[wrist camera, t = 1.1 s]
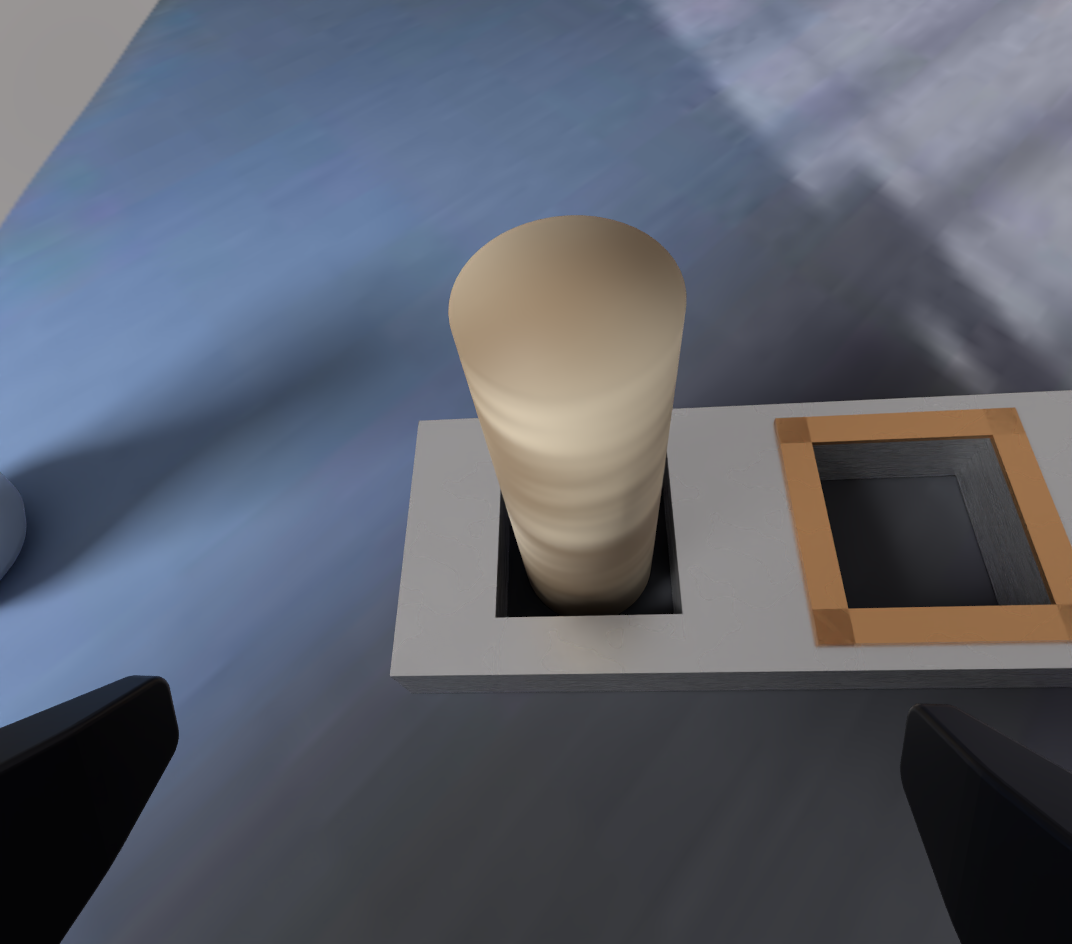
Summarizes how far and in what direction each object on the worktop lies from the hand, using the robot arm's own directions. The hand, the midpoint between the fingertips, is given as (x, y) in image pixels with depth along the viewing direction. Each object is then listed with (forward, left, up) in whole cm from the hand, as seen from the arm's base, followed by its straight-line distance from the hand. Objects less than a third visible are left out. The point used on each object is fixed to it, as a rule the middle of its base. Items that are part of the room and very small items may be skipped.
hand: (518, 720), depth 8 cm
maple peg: (+5, -6, -14) cm, 16 cm away
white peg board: (+2, -9, -14) cm, 17 cm away
